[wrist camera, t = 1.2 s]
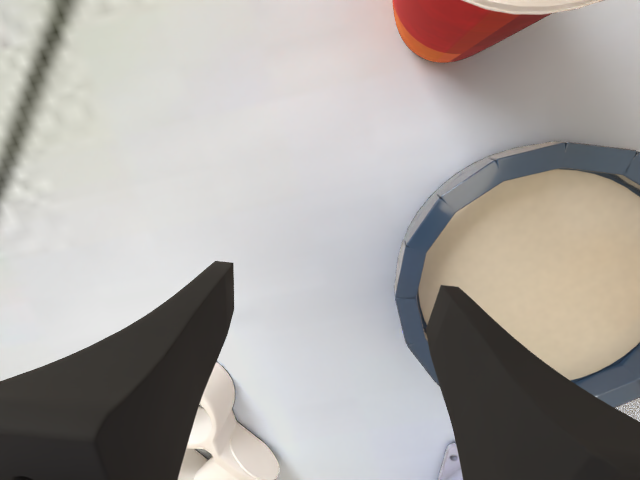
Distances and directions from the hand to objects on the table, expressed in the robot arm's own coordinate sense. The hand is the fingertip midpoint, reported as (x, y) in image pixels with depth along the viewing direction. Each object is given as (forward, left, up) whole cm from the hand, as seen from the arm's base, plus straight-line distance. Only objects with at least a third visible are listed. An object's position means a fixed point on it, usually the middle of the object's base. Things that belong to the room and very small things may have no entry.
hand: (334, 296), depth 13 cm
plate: (-2, -11, -11) cm, 15 cm away
